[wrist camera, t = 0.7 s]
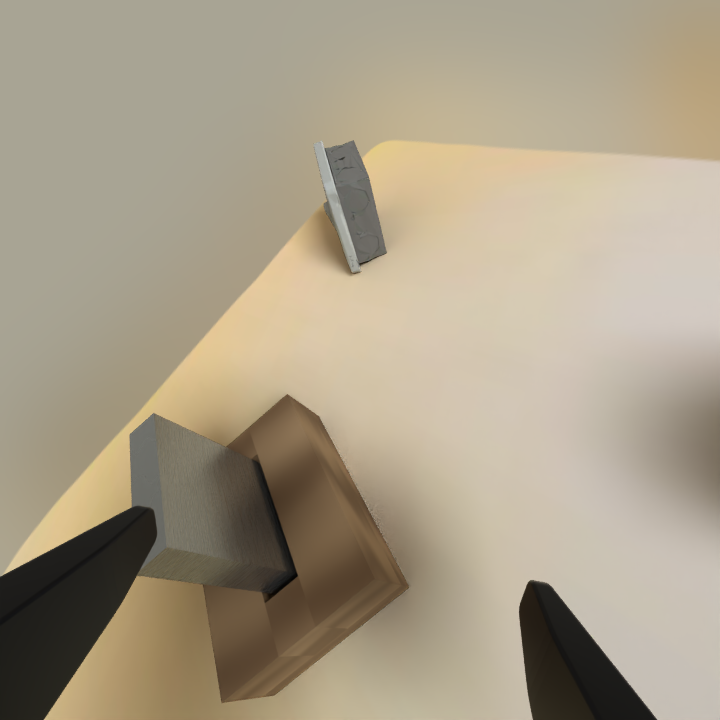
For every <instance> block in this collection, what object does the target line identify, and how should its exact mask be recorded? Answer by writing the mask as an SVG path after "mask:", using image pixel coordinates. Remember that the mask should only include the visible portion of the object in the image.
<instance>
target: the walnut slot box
mask: <svg viewBox="0 0 720 720" xmlns="http://www.w3.org/2000/svg"><path fill="white" fill-rule="evenodd" d="M227 448H229V449H231V450H233V451H235V452H237V453H239V454H241V455H244V456H246V457H248V458H250V459H252V460H254V461H256V462H258V463H261V466H262V469H263V472H264V475H265V478H266V481H267V484H268V487H269V490H270V493H271V496H272V499H273V502H274V505H275V508H276V511H277V514H278V517H279V520H280V523H281V526H282V529H283V532H284V535H285V538H286V541H287V544H288V547H289V550H290V553H291V556H292V559H293V562H294V565H295V568H296V571H297V574H298V577H297V578H295V579H294V580H293V581H292V582H290V583H289V584H288V585H287V586H286V587H284V588H283V589H282V590H281V591H280V592H278V593H277V594H271V593H264V592H256V591H249V590H241V589H234V588H227V587H219V586H212V585H204V584H203V587H204V593H205V600H206V606H207V612H208V619H209V625H210V631H211V638H212V644H213V651H214V657H215V663H216V670H217V676H218V682H219V689H220V695H221V701H222V703H224V702H231V701H238V700H245V699H252V698H259V697H266V696H273V695H275V694H277V693H278V692H279V691H280V690H282V689H283V688H284V687H285V686H287V685H288V684H289V683H290V682H292V681H293V680H294V679H295V678H296V677H298V676H299V675H300V674H301V673H303V672H304V671H305V670H306V669H308V668H309V667H310V666H311V665H313V664H314V663H315V662H316V661H318V660H319V659H320V658H321V657H323V656H324V655H325V654H326V653H328V652H329V651H330V650H331V649H333V648H334V647H335V646H336V645H338V644H339V643H340V642H341V641H343V640H344V639H345V638H346V637H348V636H349V635H350V634H351V633H353V632H354V631H355V630H356V629H358V628H359V627H360V626H361V625H363V624H364V623H365V622H366V621H368V620H369V619H370V618H371V617H373V616H374V615H375V614H376V613H378V612H379V611H380V610H381V609H383V608H384V607H385V606H386V605H388V604H389V603H390V602H391V601H393V600H394V599H395V598H396V597H398V596H399V595H400V594H401V593H403V592H404V591H405V590H406V589H408V588H409V586H408V584H407V582H406V580H405V578H404V576H403V574H402V572H401V571H400V569H399V567H398V565H397V563H396V561H395V559H394V557H393V556H392V554H391V552H390V550H389V548H388V546H387V544H386V542H385V540H384V539H383V537H382V535H381V533H380V531H379V529H378V527H377V525H376V523H375V522H374V520H373V518H372V516H371V514H370V512H369V510H368V508H367V506H366V505H365V503H364V501H363V499H362V497H361V495H360V493H359V491H358V489H357V488H356V486H355V484H354V482H353V480H352V478H351V476H350V474H349V472H348V471H347V469H346V467H345V465H344V463H343V461H342V459H341V457H340V455H339V454H338V452H337V450H336V448H335V446H334V444H333V442H332V440H331V438H330V437H329V435H328V433H327V431H326V429H325V427H324V425H323V423H322V421H321V420H320V418H319V416H318V415H316V414H315V413H313V412H312V411H310V410H309V409H308V408H306V407H305V406H303V405H302V404H301V403H299V402H298V401H296V400H295V399H293V398H292V397H291V396H289V395H288V394H287V395H286V396H285V397H283V398H282V399H281V400H280V401H279V402H278V403H276V404H275V405H274V406H273V407H272V408H271V409H270V410H268V411H267V412H266V413H265V414H264V415H263V416H262V417H260V418H259V419H258V420H257V421H256V422H255V423H253V424H252V425H251V426H250V427H249V428H248V429H247V430H245V431H244V432H243V433H242V434H241V435H240V436H239V437H237V438H236V439H235V440H234V441H233V442H232V443H230V444H229V445H228V446H227Z"/></svg>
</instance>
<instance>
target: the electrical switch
mask: <svg viewBox="0 0 720 720" xmlns="http://www.w3.org/2000/svg"><path fill="white" fill-rule="evenodd" d="M314 149H315V154H316V158H317V162H318V166H319V170H320V175H321V178H322V183H323V186H324V191H325V195H326V199H327V202H326V203H324V209H325V212H326V214H327V215H328V217H329V219H330V221H331V222H332V224H333V226H334V227H335V229H336V231H337V233H338V236H339V239H340V242H341V245H342V248H343V251H344V254H345V257H346V260H347V262H348V265H349V267H350V269H351V271H352V273H356V272H361V269H360V265H359V263H362V262H365V261H369V260H371V259H373V258H374V257H377V256H380V255H383V254H386V253H387V252H386V248H385V244H384V240H383V235H382V231H381V227H380V222H379V218H378V214H377V210H376V205H375V201H374V197H373V193H372V188H371V184H370V180H369V176H368V174H367V171H366V169H365V166H364V164H363V162H362V159H361V157H360V155H359V152H358V150H357V147H356V145H355V143H354V141H351V142H348V143H345V144H343V145H339V146H334V147H331V148H324V146H323V142H322V141H320V142H317V143H315V144H314ZM367 178H368V179H367Z"/></svg>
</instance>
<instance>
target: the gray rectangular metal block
mask: <svg viewBox="0 0 720 720" xmlns="http://www.w3.org/2000/svg"><path fill="white" fill-rule="evenodd" d="M130 461H131V493H132V507H134V506H137V505H140V506H145V507H151V508H152V509H153V510H154V512H155V519H156V526H157V538H156V541H155V543H154V545H153V547H152V549H151V551H150V552H149V554H148V556H147V558H146V560H145V562H144V563H143V565H142V567H141V569H140V571H139V573H138V574H137V576H144V577H152V578H159V579H167V580H174V581H182V582H189V583H197V584H204V585H212V586H219V587H227V588H234V589H241V590H249V591H256V592H264V593H271V594H277V593H278V592H280V591H281V590H282V589H283V588H284V587H286V586H287V585H288V584H289V583H290V582H292V581H293V580H294V579H295V578H297V577H298V574H297V571H296V568H295V565H294V562H293V559H292V556H291V553H290V550H289V547H288V544H287V541H286V538H285V535H284V532H283V529H282V526H281V523H280V520H279V517H278V514H277V511H276V508H275V505H274V502H273V499H272V496H271V493H270V490H269V487H268V484H267V481H266V478H265V475H264V472H263V469H262V466H261V463H258V462H256V461H254V460H252V459H250V458H248V457H246V456H244V455H241V454H239V453H237V452H235V451H233V450H231V449H229V448H227V447H224V446H222V445H220V444H218V443H216V442H214V441H212V440H210V439H208V438H205V437H203V436H201V435H199V434H197V433H195V432H193V431H191V430H188V429H186V428H184V427H182V426H180V425H178V424H176V423H174V422H171V421H169V420H167V419H165V418H163V417H161V416H159V415H157V414H154V413H153V414H152V415H151V416H150V417H149V418H148V419H146V420H145V421H144V422H143V423H142V424H141V425H140V426H139V427H138V428H136V429H135V430H134V431H133V432H132V433H131V434H130Z"/></svg>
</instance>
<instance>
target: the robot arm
mask: <svg viewBox="0 0 720 720" xmlns="http://www.w3.org/2000/svg"><path fill="white" fill-rule="evenodd" d="M156 538H157V526H156V519H155V512H154V510H153V509H152V508H151V507H145V506H140V505H137V506H134V507H132V508H130V509H128V510H126V511H124V512H122V513H120V514H118V515H116V516H114V517H113V518H111V519H109V520H107V521H105V522H103V523H101V524H99V525H97V526H95V527H94V528H92V529H90V530H88V531H86V532H84V533H82V534H80V535H78V536H77V537H75V538H73V539H71V540H69V541H67V542H65V543H63V544H61V545H59V546H58V547H56V548H54V549H52V550H50V551H48V552H46V553H44V554H42V555H40V556H39V557H37V558H35V559H33V560H31V561H29V562H27V563H25V564H23V565H21V566H20V567H18V568H16V569H14V570H12V571H10V572H8V573H6V574H4V575H3V576H1V577H0V720H44V719H45V717H46V716H47V714H48V713H49V711H50V710H51V708H52V707H53V705H54V704H55V702H56V701H57V699H58V698H59V696H60V695H61V693H62V692H63V690H64V689H65V687H66V686H67V684H68V683H69V681H70V680H71V678H72V677H73V675H74V674H75V672H76V671H77V669H78V668H79V666H80V665H81V663H82V662H83V660H84V659H85V657H86V656H87V655H88V653H89V652H90V650H91V649H92V647H93V646H94V644H95V643H96V641H97V640H98V638H99V637H100V635H101V634H102V632H103V631H104V629H105V628H106V626H107V625H108V623H109V622H110V620H111V619H112V617H113V616H114V614H115V613H116V611H117V609H118V608H119V606H120V605H121V603H122V601H123V600H124V598H125V596H126V594H127V593H128V591H129V589H130V587H131V585H132V584H133V582H134V580H135V578H136V576H137V574H138V573H139V571H140V569H141V567H142V565H143V563H144V562H145V560H146V558H147V556H148V554H149V552H150V551H151V549H152V547H153V545H154V543H155V541H156ZM519 618H520V627H521V637H522V646H523V655H524V664H525V673H526V682H527V690H528V697H529V702H530V708H531V712H532V717H533V720H657V719H656V717H655V716H654V715H653V714H652V712H651V711H650V710H649V709H648V707H647V706H646V705H645V704H644V702H643V701H642V700H641V699H640V697H639V696H638V695H637V693H636V692H635V691H634V690H633V688H632V687H631V686H630V685H629V683H628V682H627V681H626V680H625V678H624V677H623V676H622V675H621V673H620V672H619V671H618V670H617V668H616V667H615V666H614V665H613V663H612V662H611V661H610V660H609V658H608V657H607V656H606V654H605V653H604V652H603V651H602V649H601V648H600V647H599V646H598V644H597V643H596V642H595V641H594V639H593V638H592V637H591V636H590V634H589V633H588V632H587V631H586V629H585V628H584V627H583V626H582V624H581V623H580V622H579V620H578V619H577V618H576V617H575V615H574V614H573V613H572V612H571V610H570V609H569V608H568V607H567V605H566V604H565V603H564V602H563V600H562V599H561V598H560V597H559V595H558V594H557V593H556V592H555V590H554V589H553V588H552V587H551V586H550V585H549V584H548V583H545V582H540V581H534V580H530V581H529V582H528V584H527V586H526V589H525V591H524V594H523V597H522V600H521V603H520V607H519Z"/></svg>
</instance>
